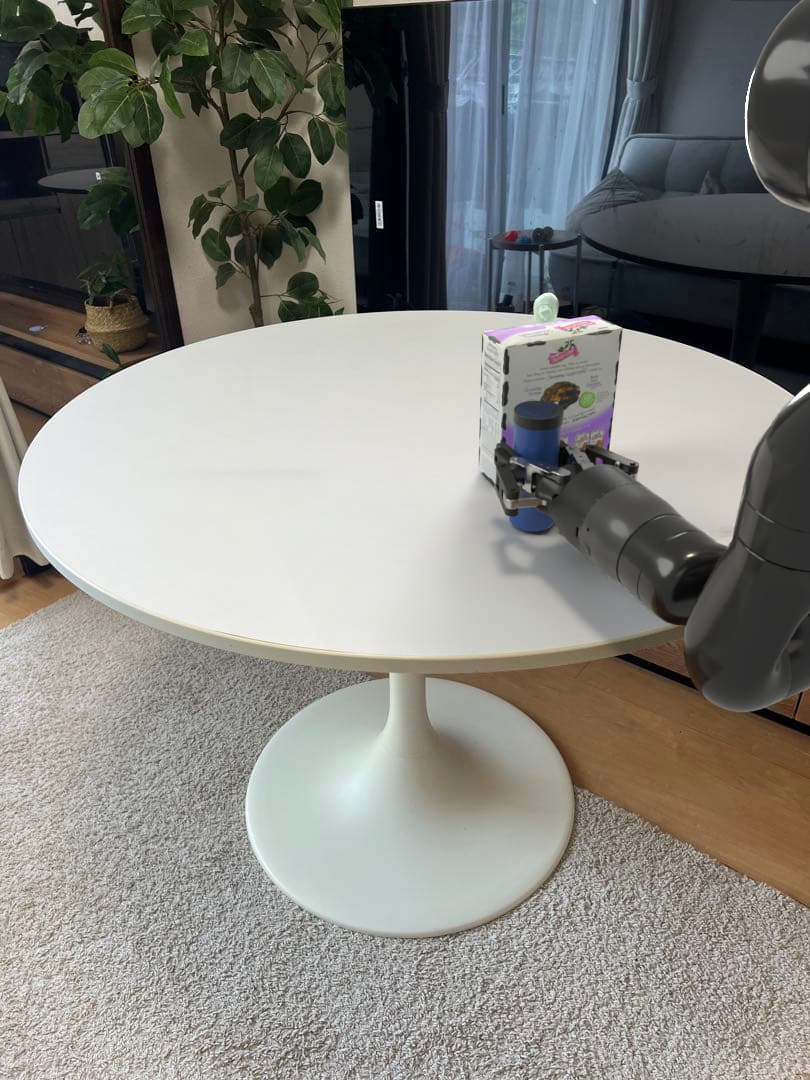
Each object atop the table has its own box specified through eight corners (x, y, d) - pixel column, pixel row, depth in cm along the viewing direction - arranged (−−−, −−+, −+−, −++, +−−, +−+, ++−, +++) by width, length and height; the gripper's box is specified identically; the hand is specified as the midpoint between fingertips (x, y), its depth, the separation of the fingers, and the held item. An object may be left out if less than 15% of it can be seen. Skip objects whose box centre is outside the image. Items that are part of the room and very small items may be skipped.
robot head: (530, 326, 137) (532, 287, 134) (553, 326, 137) (556, 286, 133) (534, 340, 130) (536, 299, 127) (559, 340, 130) (562, 299, 126)
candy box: (581, 450, 94) (595, 312, 86) (608, 470, 90) (626, 327, 81) (476, 470, 90) (479, 328, 82) (498, 492, 86) (505, 344, 77)
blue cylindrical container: (540, 506, 82) (547, 397, 76) (563, 526, 79) (573, 414, 72) (500, 514, 81) (505, 404, 75) (522, 536, 77) (528, 422, 71)
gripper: (700, 470, 65) (587, 400, 78) (548, 504, 61) (456, 423, 74) (685, 547, 69) (580, 467, 82) (541, 584, 64) (455, 494, 78)
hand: (521, 447), depth 78 cm, fingers closed on blue cylindrical container, 4 cm apart
